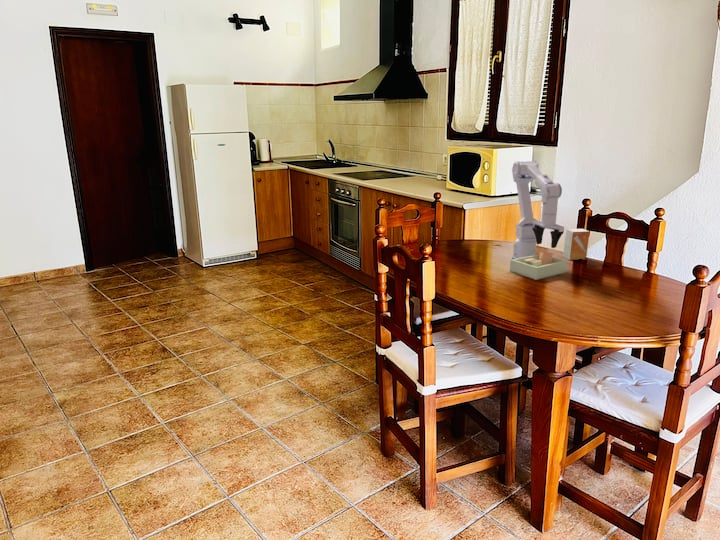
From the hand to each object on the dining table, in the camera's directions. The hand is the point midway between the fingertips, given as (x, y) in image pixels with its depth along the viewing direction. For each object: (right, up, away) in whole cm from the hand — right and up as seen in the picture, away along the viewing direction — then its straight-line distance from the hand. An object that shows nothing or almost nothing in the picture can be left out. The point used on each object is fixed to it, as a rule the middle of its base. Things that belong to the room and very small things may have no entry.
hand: (546, 245), depth 225 cm
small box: (+20, -5, +20) cm, 29 cm away
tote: (-4, -11, 0) cm, 12 cm away
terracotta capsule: (0, -10, +2) cm, 10 cm away
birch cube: (-7, -11, -2) cm, 13 cm away
